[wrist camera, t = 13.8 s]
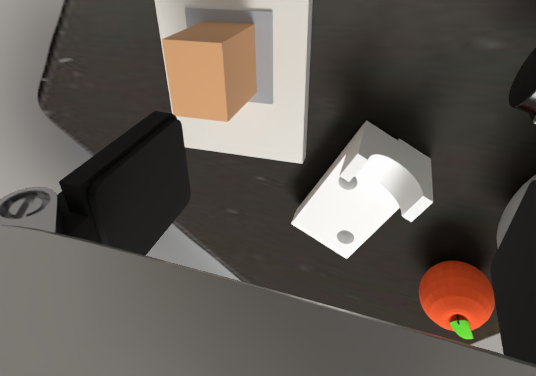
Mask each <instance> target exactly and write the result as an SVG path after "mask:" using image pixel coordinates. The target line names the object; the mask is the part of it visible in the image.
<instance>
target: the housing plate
mask: <svg viewBox="0 0 536 376" xmlns="http://www.w3.org/2000/svg"><path fill="white" fill-rule="evenodd" d="M312 3H313V0H155V5H156V12H157V18H158V25H159V31H160V38H161V44H162V39H164V38H166V37H168V36H171V35H173V34H175V33H177V32H180V31H182V30H184V29H187V28H189V27H191V26H193V25H196V24H198V23H200V22H203V21H206V22H227V23H248V24H255V54H256V85H257V93H256V94H255V95H254V96H253V97H252V98H251V99H250V100H249V101H248V102H247V103H246V104H245V105H244V106H243V107H242V108H241V109H240V110H239V111H238V112H237V113H236V114H235V115H234V116H233V117H232V118H231V119H230V120H229V121H228V122H223V121H215V120H206V119H198V118H190V117H181V116H176V118H177V120H180V122H181V124H182V130H183V138H184V146H185V147H188V148H195V149H202V150H209V151H216V152H223V153H230V154H237V155H244V156H251V157H258V158H265V159H272V160H279V161H287V162H294V163H301V164H303V161H304V159H305V157H306V140H307V117H308V94H309V72H310V49H311V26H312ZM162 50H163V44H162ZM163 57H164V50H163ZM164 63H165V57H164ZM165 70H166V76H167V69H166V63H165ZM167 82H168V76H167ZM168 89H169V82H168ZM169 95H170V89H169ZM170 102H171V95H170ZM171 108H172V102H171ZM172 114H173V108H172Z"/></svg>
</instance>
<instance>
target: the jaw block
mask: <svg viewBox="0 0 536 376" xmlns="http://www.w3.org/2000/svg"><path fill="white" fill-rule="evenodd" d="M162 44H163V50H164V57H165V63H166V69H167V76H168V82H169V89H170V95H171V102H172V108H173V114H174V115H175V116H181V117H190V118H198V119H206V120H215V121H223V122H228V121H229V120H230V119H231V118H232V117H233V116H234V115H235V114H236V113H237V112H238V111H239V110H240V109H241V108H242V107H243V106H244V105H245V104H246V103H247V102H248V101H249V100H250V99H251V98H252V97H253V96H254V95H255V94H256V93H257V85H256V54H255V24H248V23H227V22H206V21H203V22H200V23H198V24H196V25H193V26H191V27H189V28H187V29H184V30H182V31H180V32H177V33H175V34H173V35H171V36H168V37H166V38H164V39H162Z"/></svg>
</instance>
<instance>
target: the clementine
mask: <svg viewBox="0 0 536 376" xmlns="http://www.w3.org/2000/svg"><path fill="white" fill-rule="evenodd" d="M419 297H420V302H421V305H422V307H423V309H424V311H425V312H426V314H427V315H428V316H429V318H430V319H431V320H433V321H434V322H435V323H437V324H438V325H439V326H441V327H443V328H445V329H448V330H452V331H455V332H456V333H457V334H458V335H459V336H460V337H462V338H464V339H473V334H472V332H471V330H474V329H476V328H478V327H480V326H481V325H482V324H484V323H485V322H486V321H487V320H488V319H489V317H490V316H491V314H492V311H493V309H494V303H495V297H494V292H493V288H492V286H491V283H490V282H489V280H488V279H487V277H486V276H485V275H484V274H483V273H482V272H481V271H480V270H478V269H477V268H476V267H474V266H472V265H470V264H468V263H465V262H461V261H444V262H441V263H438V264H436V265H434V266H433V267H431V268H430V269H429V270H428V271H427V272H426V273H425V275H424V276H423V277H422V280H421V282H420V287H419Z"/></svg>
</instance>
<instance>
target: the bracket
mask: <svg viewBox="0 0 536 376" xmlns="http://www.w3.org/2000/svg"><path fill="white" fill-rule="evenodd" d="M432 203H433V190H432V173H431V159H430V158H429V157H427V156H426V155H424V154H423V153H421V152H419V151H418V150H416V149H415V148H413V147H412V146H410V145H409V144H407V143H406V142H404V141H403V140H401V139H400V138H399V139H398V140H396V139H394V138H393V137H391V136H390V135H388V134H387V133H385V132H384V131H382V130H381V129H379V128H378V127H376V126H374V125H373V124H371V123H370V122H368V121H367V120H366V122H365V123H364V124H363V125H362V127H361V128H360V129H359V130H358V132H357V133H356V134H355V136H354V137H353V138H352V139H351V141H350V142H349V143H348V145H347V146H346V147H345V148H344V150H343V151H342V152H341V154H340V155H339V156H338V157H337V159H336V160H335V161H334V163H333V164H332V165H331V166H330V168H329V169H328V170H327V171H326V173H325V174H324V175H323V177H322V178H321V179H320V180H319V182H318V183H317V184H316V186H315V187H314V188H313V189H312V191H311V192H310V193H309V195H308V196H307V197H306V198H305V200H304V201H303V202H302V204H301V205H300V206H299V207H298V209H297V210H296V213H295V215H294V217H293V220H292V222H291V224H292V225H294V226H295V227H297V228H298V229H300V230H302V231H303V232H305V233H306V234H308V235H310V236H311V237H313V238H314V239H316V240H317V241H319V242H321V243H322V244H324V245H325V246H327V247H328V248H330V249H332V250H333V251H335V252H336V253H338V254H340V255H341V256H343V257H344V258H346V259H347V258H348V257H349V256H350V255H351V254H352V253H354V252H355V251H356V250H357V249H358V248H359V247H360V246H361V245H362V244H363V243H364V242H365V241H366V240H367V239H368V238H369V237H370V236H371V235H372V234H373V233H374V232H375V231H376V230H377V229H378V228H379V227H380V226H381V225H382V224H383V223H384V222H385V221H386V220H387V219H388V218H389V217H390V216H392V215H393V214H394V213H395V212H396V211H397V210H398V209H399V208H400V209H401V213H402V217H404V218H405V219H407V220H409V221H410V222H412V221H413V220H414V219H415V218H416V217H417V216H419V215H420V214H421V213H422V212H423V211H424V210H425V209H426V208H427V207H428V206H429V205H431V204H432Z"/></svg>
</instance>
